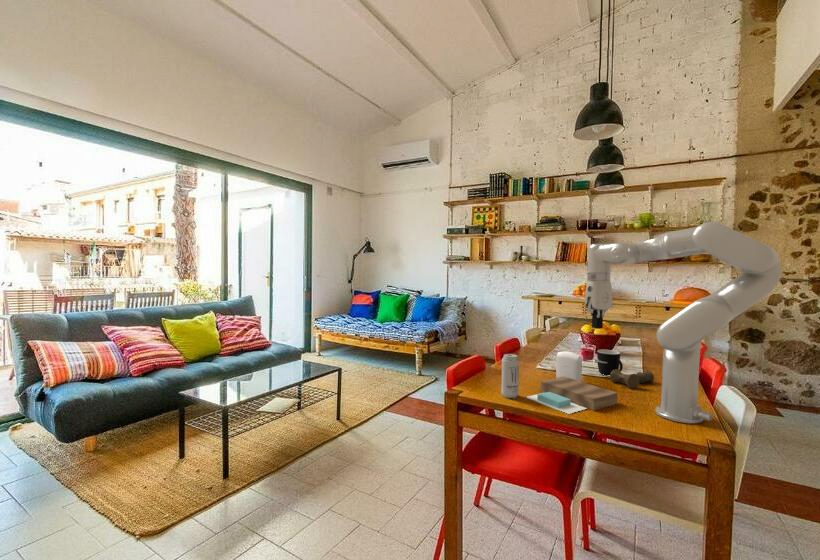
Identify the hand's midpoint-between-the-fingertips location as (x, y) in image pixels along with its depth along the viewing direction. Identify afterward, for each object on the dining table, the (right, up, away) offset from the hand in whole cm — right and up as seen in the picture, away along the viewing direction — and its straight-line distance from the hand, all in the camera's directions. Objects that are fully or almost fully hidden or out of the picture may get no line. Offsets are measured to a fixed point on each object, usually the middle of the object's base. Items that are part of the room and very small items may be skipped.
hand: (597, 328), depth 142 cm
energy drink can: (-32, -25, 0) cm, 41 cm away
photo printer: (-3, -25, +18) cm, 31 cm away
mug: (+19, -24, +27) cm, 41 cm away
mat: (-18, -25, -7) cm, 32 cm away
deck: (-8, -25, -1) cm, 26 cm away
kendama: (+21, -25, +15) cm, 36 cm away
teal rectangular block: (-18, -23, -7) cm, 30 cm away
